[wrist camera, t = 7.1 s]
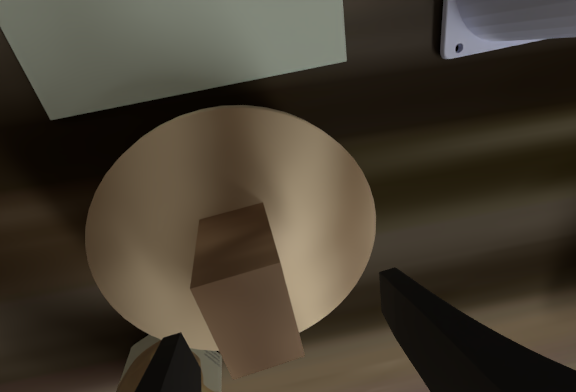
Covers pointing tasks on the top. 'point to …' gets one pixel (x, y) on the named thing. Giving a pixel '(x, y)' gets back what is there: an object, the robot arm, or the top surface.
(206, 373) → the skincare box
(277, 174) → the lid
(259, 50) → the mat
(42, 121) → the top surface
